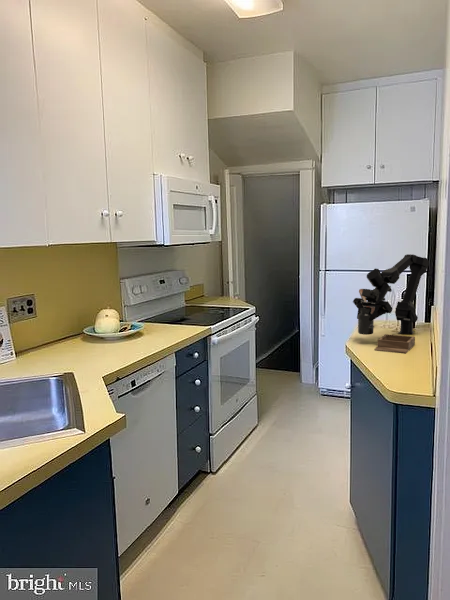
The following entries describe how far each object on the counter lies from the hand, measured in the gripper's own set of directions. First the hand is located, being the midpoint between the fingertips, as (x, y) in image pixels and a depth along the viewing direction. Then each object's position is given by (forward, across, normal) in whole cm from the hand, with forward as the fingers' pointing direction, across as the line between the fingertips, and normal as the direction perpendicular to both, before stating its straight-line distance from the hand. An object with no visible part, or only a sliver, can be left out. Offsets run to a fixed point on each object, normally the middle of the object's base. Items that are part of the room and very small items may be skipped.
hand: (363, 319), depth 220 cm
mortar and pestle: (-14, -25, +30) cm, 42 cm away
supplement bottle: (+4, 0, +6) cm, 7 cm away
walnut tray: (+5, +14, +10) cm, 18 cm away
